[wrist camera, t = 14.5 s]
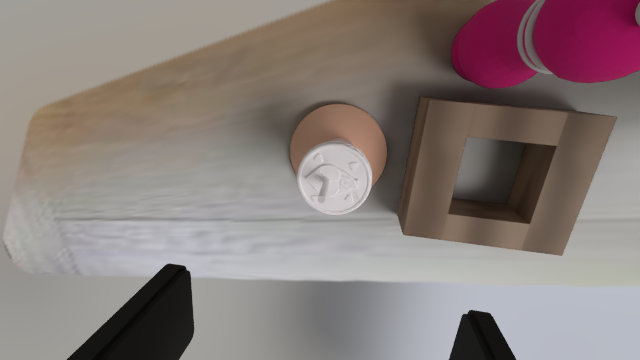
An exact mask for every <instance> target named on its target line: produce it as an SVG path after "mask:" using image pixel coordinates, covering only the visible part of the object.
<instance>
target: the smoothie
mask: <svg viewBox="0 0 640 360" xmlns="http://www.w3.org/2000/svg"><path fill="white" fill-rule="evenodd" d="M297 184H298V188H299V191H300V193H301V195H302V197H303V198H304V200H305V201H306V202H307V203H308V204H309V205H310V206H311V207H313V208H314V209H316V210H317V211H320V212H322V213H325V214H330V215H340V214H345V213H348V212H351V211H353V210H355V209H356V208H358V207H359V206H360V205H361V204H362V203H363V202H364V201H365V200H366V198H367V196H368V195H369V192H370V189H371V185H372V170H371V167H370V164H369V162H368V160H367V158H366V157H365V155H364V154H363V153H362V152H361V151H360V150H359V149H357V148H356V147H355V146H354V145H353V143H352V142H350V141H349V140H347V139H345V138H336V139H333V140H331V141H328V142H325V143H321V144H318V145H317V146H315V147H314V148H312V149H310V150H309V152H308V153H307V154H306V155H305V156H304V158H303V160H302V162H301V163H300V166H299V169H298V173H297Z"/></svg>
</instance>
